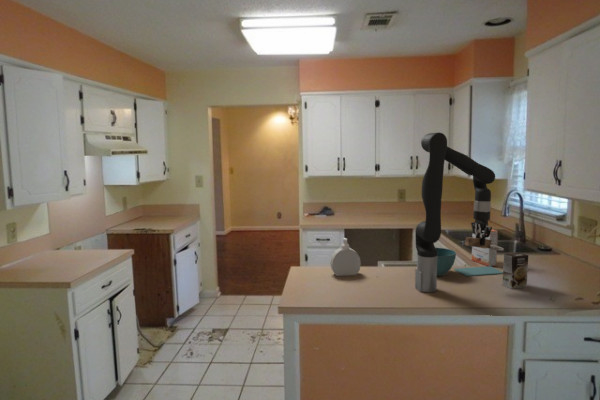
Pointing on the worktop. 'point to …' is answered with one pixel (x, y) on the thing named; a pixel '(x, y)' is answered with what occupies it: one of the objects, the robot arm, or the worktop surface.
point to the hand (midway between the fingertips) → (480, 244)
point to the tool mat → (478, 271)
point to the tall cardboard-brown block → (476, 243)
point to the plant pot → (444, 260)
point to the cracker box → (486, 251)
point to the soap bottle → (345, 261)
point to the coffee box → (515, 270)
